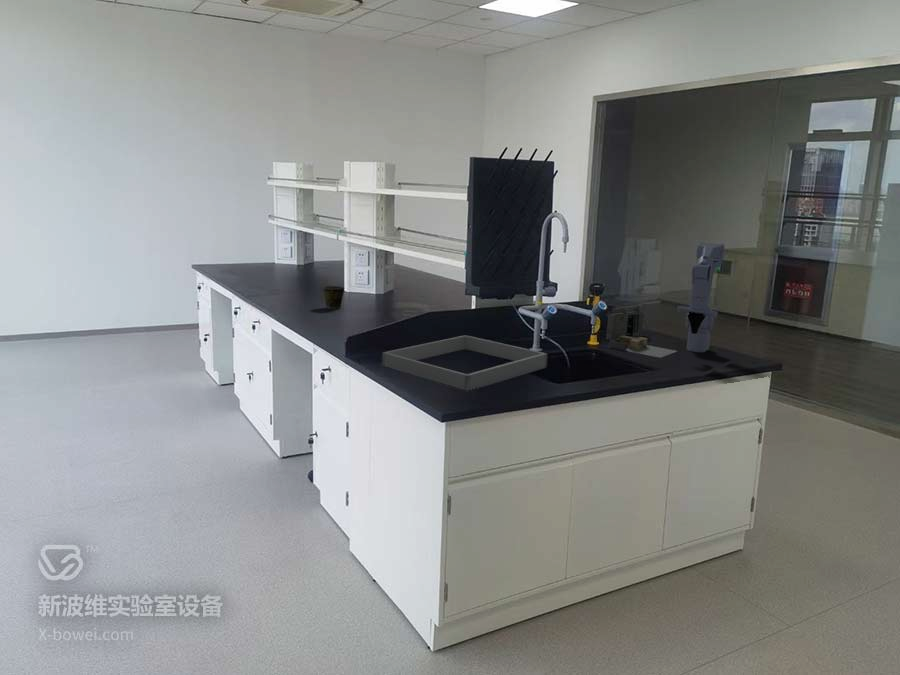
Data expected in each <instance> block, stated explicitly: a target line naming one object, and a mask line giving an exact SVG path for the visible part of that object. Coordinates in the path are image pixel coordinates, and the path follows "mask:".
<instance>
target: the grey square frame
mask: <svg viewBox="0 0 900 675" xmlns="http://www.w3.org/2000/svg"><path fill="white" fill-rule="evenodd" d="M461 350H462V351H463V350H468V351H472V352H476V353H479V354H484V355H488V356H492V357H498V358H500V359H501V358H502V359H506V360H510V361H511V362H506V363H503V364H499V365H496V366H492V367H489V368H484V369H482V370H478V371H473V372H471V373H470V372H469V373H463V372H459V371H457V370H452V369H449V368H445V367H441V366H438V365H434V364H431V363H427V362H423V361H420V360H423V359H428V358H432V357H437V356H441V355H446V354H449V353H453V352H458V351H461ZM382 366H385V367H389V368H392V369H395V370H398V371H401V372H405V373H409V374H412V375H415V376H419V377H422V378H426V379H429V380H433V381H436V382H439V383H443V384H446V385H450V386H453V387H456V388H459V389H463V390H466V391H467V392H469V391H468V390H471V391H473V390H472V389H474V390H476V389H475V388H477V389H480V388H479V387H481V388H484V387H487V386H489V385H493V384H496V383H500V382H503V381H506V380H510V379H512V378H516V377H519V376H520V377H521V376H524V375H527V374H529V373H533V372H536V371H539V370H543V369H546V368H547V366H548V353H546V352H542V351H537V350H534V349H529V348H524V347H520V346H516V345H511V344H507V343H506V344H505V343H502V342H497V341H493V340H489V339H484V338H479V337H476V336H471V335H467V334H466V335H465V334H464V335H460V336H455V337H451V338H446V339H442V340H441V339H440V340H436V341H435V340H434V341H432V342H430V341H429V342H425V343H421V344H418V345H417V344H416V345H412V346H409V347H408V346H407V347H403V348H397V349H394V350H393V349H392V350H389V351H383V352H381V367H382ZM401 372H400V373H401ZM415 376H414V377H415ZM439 383H438V384H439ZM483 386H484V387H483ZM456 388H455V389H456ZM459 389H458V390H459ZM463 390H462V391H463ZM466 391H465V392H466Z"/></svg>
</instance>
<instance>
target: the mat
mask: <svg viewBox="0 0 900 675" xmlns="http://www.w3.org/2000/svg"><path fill="white" fill-rule="evenodd" d="M610 348H611V347H609V349H610ZM611 349H612V348H611ZM614 349H615V350H617V349H616V348H614ZM618 350H620V351H622V350H621V349H618ZM623 351H625V352H631V353H635V354H640V355H646V356H649V357H655V358H663V357H666V356H668V355H671V354H673V353H677V352H678V350H673V349H669V348H663V347H659V346H653V345H648V344H647V347H645V348H642V349H639V350H632V349H629V347H627V350H623Z"/></svg>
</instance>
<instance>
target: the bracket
mask: <svg viewBox="0 0 900 675" xmlns="http://www.w3.org/2000/svg"><path fill="white" fill-rule="evenodd" d="M628 337H634V338H638V337H636V336H628ZM619 339H620V338H618V339H614V340H611V341H610V340H608V346H607V348H610V347H611V349H615V348H616V349H615V350H619V349H621V350H620V351H624V350H627V344H625V343H620V342H619Z"/></svg>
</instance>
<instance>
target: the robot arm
mask: <svg viewBox="0 0 900 675" xmlns="http://www.w3.org/2000/svg"><path fill="white" fill-rule="evenodd" d="M724 255H725V245H724V243H710V242H709V243H708V242H707V243H706V242H701V241H700V242H698V244H697V247H696V263H695V265H693V266H692V270H691V290H690V299H689V306H682V305H678V306H676V307H677V309H676V312H679V313H686V317H685V327H686V328H687V330H688V332H687V333H688V334H687V343H686V350H687V351H690V352H692V353H693V352H694V353H705V352H707V351H709V350H710V342H711V334H710V331H712V330H713V325H714V322H715V321H714V319H715V318H717V317H718V314H719V312H718V311H717V310H716V311H715V310H713V309H712V308H711V307H710V306H709V302H710V298H711V291H712V285H713V279H714V275H715V272H716V271H717V269H718V268H719V269H720V267H722V264H723V259H724Z"/></svg>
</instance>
